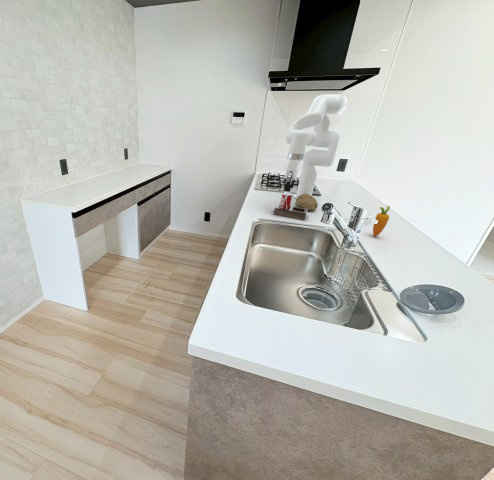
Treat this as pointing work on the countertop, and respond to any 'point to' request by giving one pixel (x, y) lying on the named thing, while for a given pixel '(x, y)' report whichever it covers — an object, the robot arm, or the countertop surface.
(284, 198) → the soda can
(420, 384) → the countertop surface
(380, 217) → the carrot
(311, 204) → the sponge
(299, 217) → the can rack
